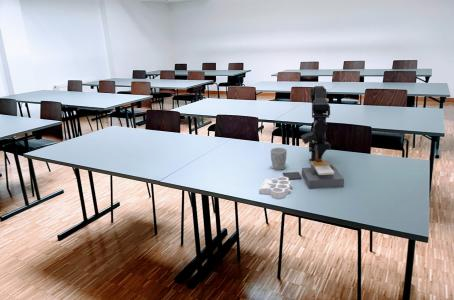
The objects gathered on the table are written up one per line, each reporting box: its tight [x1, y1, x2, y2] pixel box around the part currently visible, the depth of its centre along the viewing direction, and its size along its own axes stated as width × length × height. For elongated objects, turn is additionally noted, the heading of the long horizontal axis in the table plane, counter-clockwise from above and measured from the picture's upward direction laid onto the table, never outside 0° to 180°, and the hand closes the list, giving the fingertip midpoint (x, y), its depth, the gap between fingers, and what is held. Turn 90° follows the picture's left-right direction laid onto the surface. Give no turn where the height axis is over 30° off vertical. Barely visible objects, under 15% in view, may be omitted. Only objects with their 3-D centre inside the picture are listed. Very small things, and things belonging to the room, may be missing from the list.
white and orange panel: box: [310, 160, 334, 175], centre depth 164 cm, size 15×7×1 cm, turn 0°
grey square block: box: [301, 163, 345, 190], centre depth 165 cm, size 16×16×8 cm
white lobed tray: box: [258, 176, 294, 200], centre depth 159 cm, size 3×18×15 cm
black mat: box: [282, 171, 303, 181], centre depth 173 cm, size 8×8×1 cm
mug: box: [270, 147, 288, 170], centre depth 185 cm, size 11×8×10 cm
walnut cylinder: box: [315, 149, 323, 162], centre depth 169 cm, size 3×3×9 cm
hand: (318, 157), depth 170 cm, fingers closed on walnut cylinder, 3 cm apart
